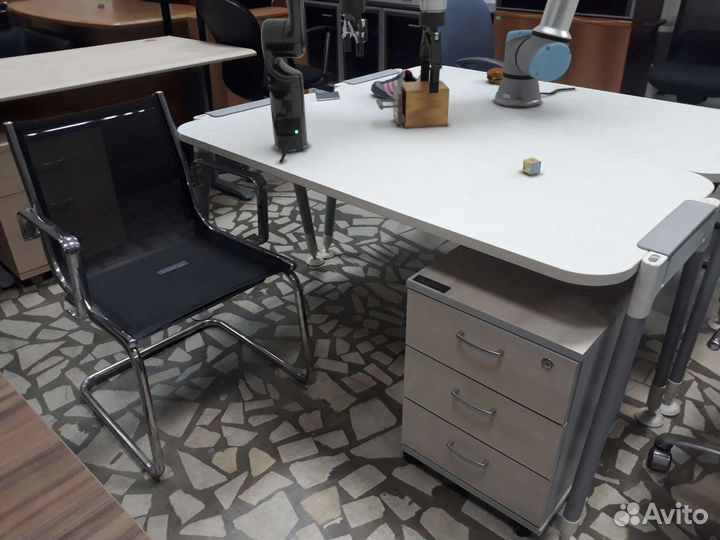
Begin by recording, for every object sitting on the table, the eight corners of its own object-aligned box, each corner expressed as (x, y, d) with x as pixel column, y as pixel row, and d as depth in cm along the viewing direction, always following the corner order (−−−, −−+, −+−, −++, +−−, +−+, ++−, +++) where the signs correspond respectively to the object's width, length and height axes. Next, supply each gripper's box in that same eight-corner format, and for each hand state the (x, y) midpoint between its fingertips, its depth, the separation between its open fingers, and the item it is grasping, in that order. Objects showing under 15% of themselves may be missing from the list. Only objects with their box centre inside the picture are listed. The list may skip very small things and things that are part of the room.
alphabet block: (529, 175, 138) (531, 163, 136) (521, 170, 140) (523, 159, 139) (540, 173, 139) (541, 161, 137) (531, 168, 141) (533, 157, 140)
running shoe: (382, 90, 212) (382, 60, 206) (438, 103, 195) (439, 70, 190) (365, 95, 206) (364, 64, 201) (420, 108, 190) (421, 75, 184)
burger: (509, 78, 224) (510, 66, 222) (513, 84, 216) (515, 71, 214) (483, 78, 224) (484, 66, 222) (487, 84, 216) (488, 72, 214)
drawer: (379, 126, 172) (379, 94, 167) (376, 117, 180) (375, 87, 175) (435, 123, 173) (437, 91, 169) (429, 114, 181) (430, 84, 177)
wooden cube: (405, 128, 173) (406, 90, 167) (400, 118, 182) (400, 82, 176) (447, 125, 174) (449, 88, 168) (439, 116, 183) (441, 80, 177)
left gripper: (330, -7, 168) (332, 51, 177) (351, -3, 157) (353, 59, 166) (352, -8, 171) (354, 49, 180) (375, -4, 160) (375, 56, 169)
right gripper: (411, 6, 172) (409, 78, 183) (428, 16, 150) (424, 98, 161) (436, 5, 172) (432, 77, 183) (456, 16, 151) (450, 97, 162)
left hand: (353, 53), depth 173 cm, fingers open, 8 cm apart
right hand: (428, 87), depth 172 cm, fingers open, 13 cm apart
